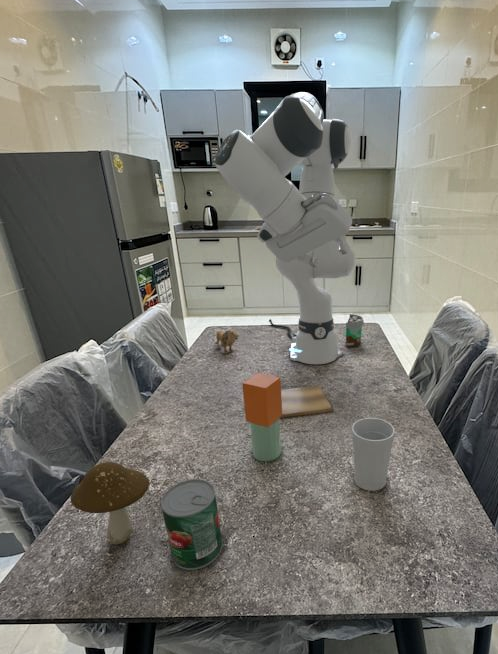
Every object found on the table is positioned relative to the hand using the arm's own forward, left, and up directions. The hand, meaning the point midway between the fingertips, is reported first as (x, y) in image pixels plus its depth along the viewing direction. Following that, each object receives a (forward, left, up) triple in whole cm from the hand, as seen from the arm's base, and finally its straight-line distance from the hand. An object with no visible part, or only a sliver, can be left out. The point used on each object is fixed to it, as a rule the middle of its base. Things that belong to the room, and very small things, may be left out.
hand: (331, 258), depth 84 cm
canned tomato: (+35, -32, -40) cm, 62 cm away
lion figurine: (-56, -25, -40) cm, 73 cm away
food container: (-50, +24, -40) cm, 68 cm away
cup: (+26, +1, -40) cm, 48 cm away
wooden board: (-9, -6, -40) cm, 41 cm away
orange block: (+12, -18, -31) cm, 37 cm away
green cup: (+12, -18, -40) cm, 45 cm away
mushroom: (+30, -44, -40) cm, 66 cm away
